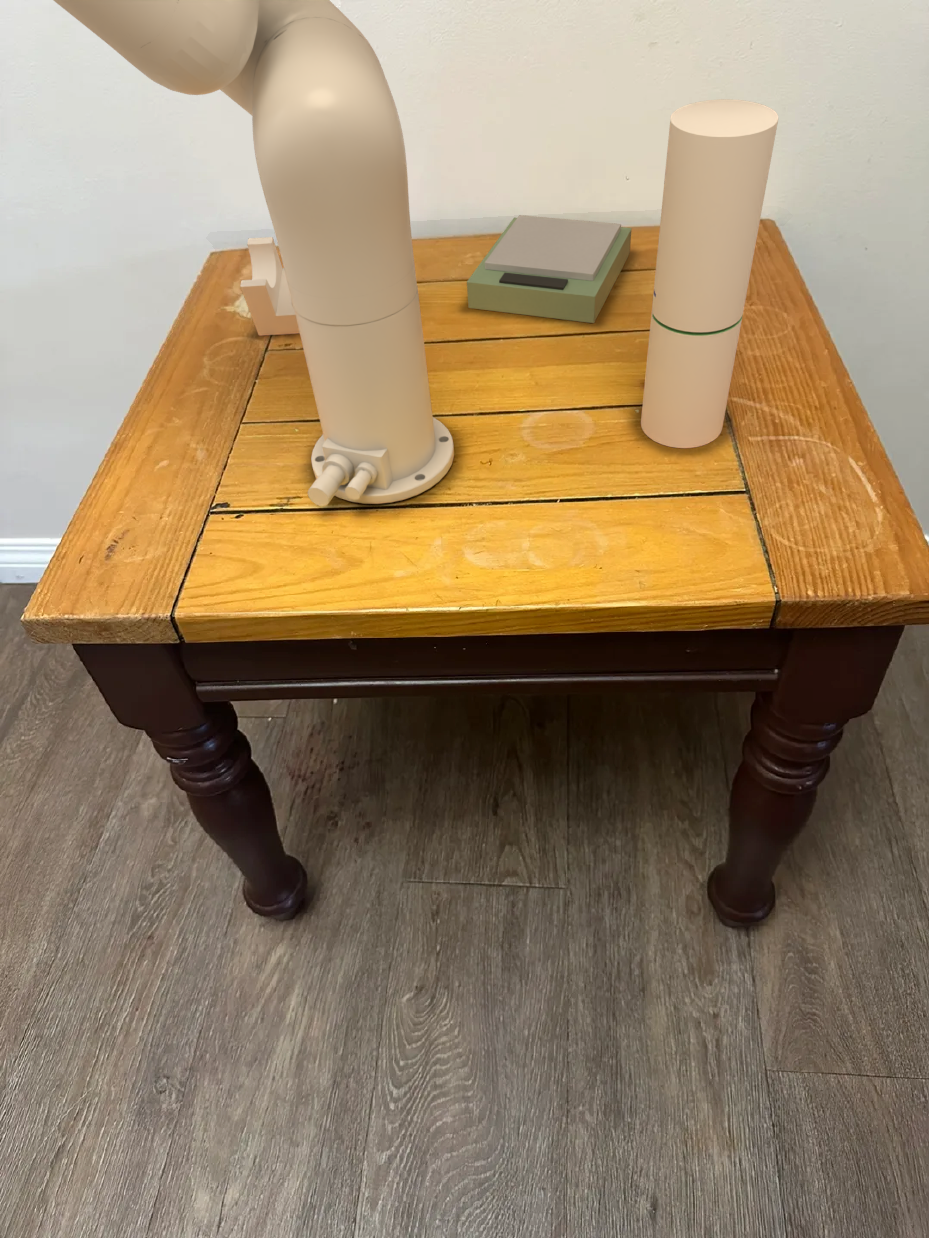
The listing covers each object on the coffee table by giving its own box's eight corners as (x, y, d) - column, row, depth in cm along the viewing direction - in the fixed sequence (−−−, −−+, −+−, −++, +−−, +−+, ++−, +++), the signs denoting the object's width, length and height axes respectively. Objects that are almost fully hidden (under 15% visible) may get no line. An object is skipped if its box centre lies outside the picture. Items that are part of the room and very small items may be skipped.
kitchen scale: (594, 323, 90) (595, 289, 87) (468, 308, 94) (466, 274, 91) (629, 254, 100) (632, 220, 97) (514, 242, 104) (513, 210, 101)
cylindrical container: (718, 400, 79) (770, 97, 61) (726, 448, 75) (785, 134, 56) (639, 401, 80) (667, 101, 62) (642, 448, 75) (673, 139, 57)
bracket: (261, 342, 94) (240, 287, 87) (268, 295, 97) (248, 238, 90) (379, 335, 93) (367, 279, 86) (382, 288, 96) (371, 231, 90)
